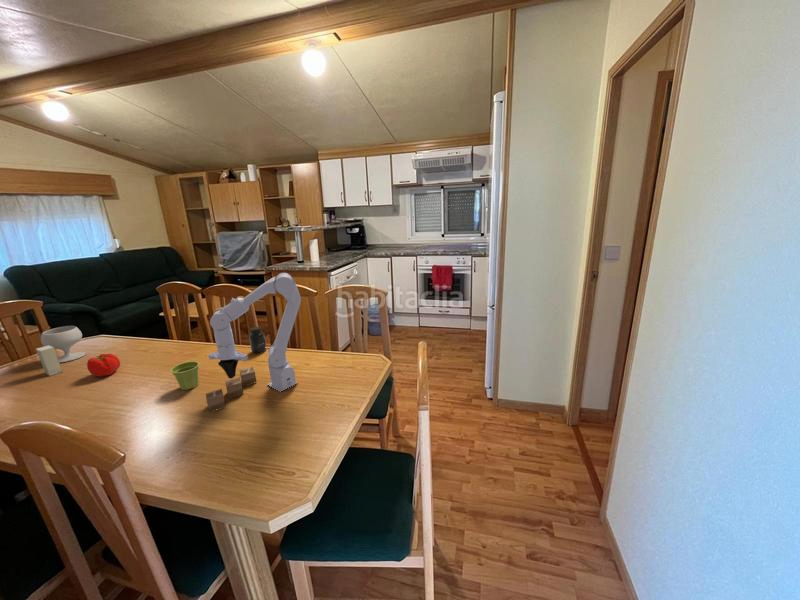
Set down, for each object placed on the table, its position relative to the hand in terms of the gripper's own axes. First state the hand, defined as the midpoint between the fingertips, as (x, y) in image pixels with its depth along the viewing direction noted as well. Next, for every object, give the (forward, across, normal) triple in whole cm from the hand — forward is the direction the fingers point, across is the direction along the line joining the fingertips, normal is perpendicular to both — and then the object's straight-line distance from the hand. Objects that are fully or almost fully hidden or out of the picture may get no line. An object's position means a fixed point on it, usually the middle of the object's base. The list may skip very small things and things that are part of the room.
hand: (232, 377), depth 119 cm
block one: (+7, +1, +8) cm, 11 cm away
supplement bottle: (+7, +14, -36) cm, 40 cm away
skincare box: (+7, +96, -6) cm, 97 cm away
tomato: (+7, +69, -8) cm, 70 cm away
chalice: (+7, +107, -19) cm, 109 cm away
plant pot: (+7, +22, -2) cm, 24 cm away
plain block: (+7, 0, 0) cm, 7 cm away
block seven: (+7, 0, -8) cm, 11 cm away
